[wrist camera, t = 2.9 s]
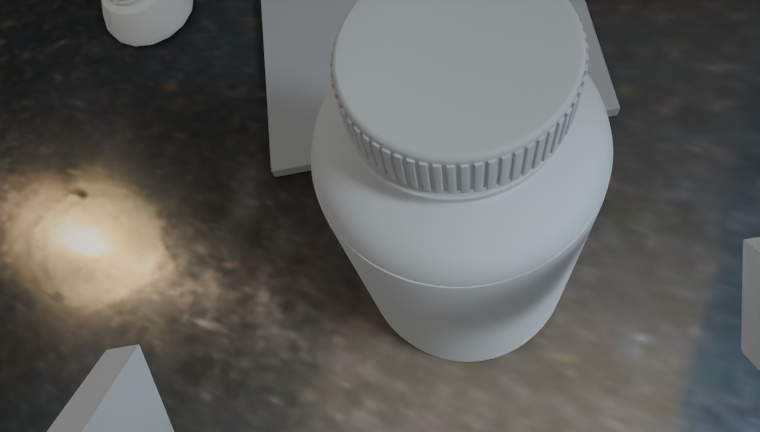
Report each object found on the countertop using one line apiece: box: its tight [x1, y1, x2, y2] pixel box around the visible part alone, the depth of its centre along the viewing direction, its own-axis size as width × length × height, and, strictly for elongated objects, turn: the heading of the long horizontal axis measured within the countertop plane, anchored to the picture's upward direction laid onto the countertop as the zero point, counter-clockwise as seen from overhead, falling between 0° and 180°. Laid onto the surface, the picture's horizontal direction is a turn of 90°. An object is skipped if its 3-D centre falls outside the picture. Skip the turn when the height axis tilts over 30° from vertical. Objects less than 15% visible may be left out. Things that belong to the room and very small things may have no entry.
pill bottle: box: [311, 0, 613, 362], centre depth 19 cm, size 8×8×15 cm
